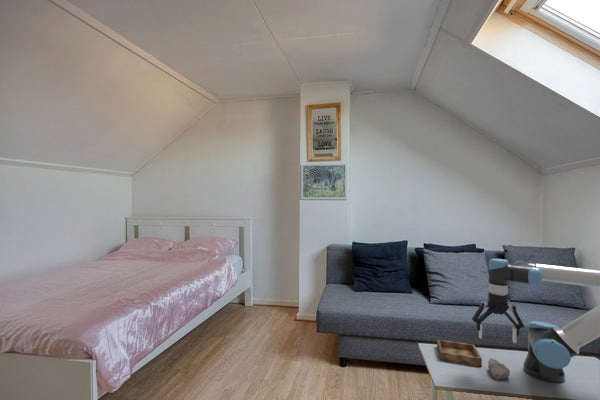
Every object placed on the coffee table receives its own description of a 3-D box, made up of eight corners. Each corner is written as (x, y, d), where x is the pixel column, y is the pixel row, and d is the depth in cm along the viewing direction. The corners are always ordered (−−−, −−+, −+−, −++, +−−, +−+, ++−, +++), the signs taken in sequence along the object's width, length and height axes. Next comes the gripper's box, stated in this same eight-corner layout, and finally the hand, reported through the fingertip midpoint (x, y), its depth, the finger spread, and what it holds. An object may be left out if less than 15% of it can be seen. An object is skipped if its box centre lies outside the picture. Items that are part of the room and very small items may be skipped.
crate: (474, 352, 165) (474, 344, 166) (481, 367, 150) (481, 358, 150) (436, 346, 171) (437, 339, 171) (440, 360, 156) (440, 352, 156)
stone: (480, 369, 148) (480, 357, 148) (496, 369, 149) (497, 356, 149) (495, 381, 138) (495, 368, 138) (512, 381, 139) (512, 367, 139)
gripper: (526, 293, 143) (526, 340, 143) (465, 288, 151) (465, 332, 151) (533, 298, 136) (532, 347, 136) (469, 292, 144) (468, 338, 144)
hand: (497, 339), depth 143 cm, fingers open, 13 cm apart
